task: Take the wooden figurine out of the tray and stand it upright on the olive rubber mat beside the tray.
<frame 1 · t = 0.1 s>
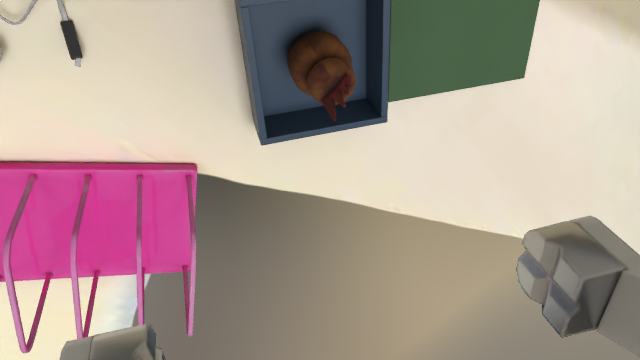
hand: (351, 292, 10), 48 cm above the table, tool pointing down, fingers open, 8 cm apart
wooden figurine: (309, 50, 58), resting on tray
mat: (463, 25, 61), on the table
tray: (309, 49, 58), on the table
file sorter: (94, 217, 63), on the table
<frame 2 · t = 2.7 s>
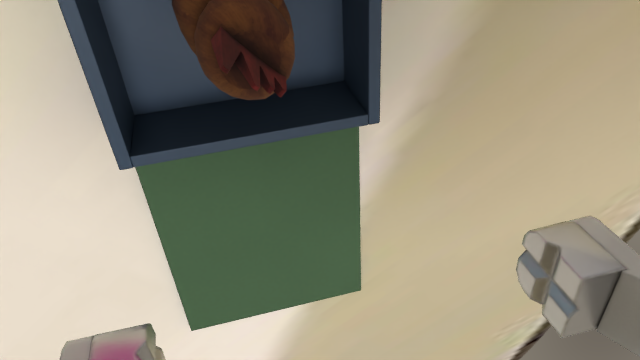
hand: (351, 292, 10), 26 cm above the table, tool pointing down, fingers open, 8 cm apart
mat: (265, 230, 43), on the table
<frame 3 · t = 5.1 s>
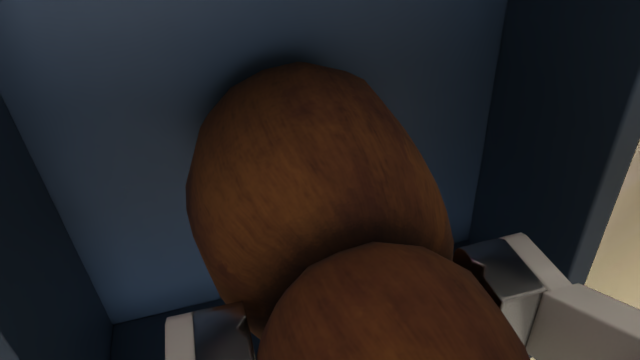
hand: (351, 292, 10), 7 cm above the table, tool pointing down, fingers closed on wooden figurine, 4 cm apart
wooden figurine: (283, 129, 16), resting on tray, touching gripper
tray: (283, 127, 16), on the table
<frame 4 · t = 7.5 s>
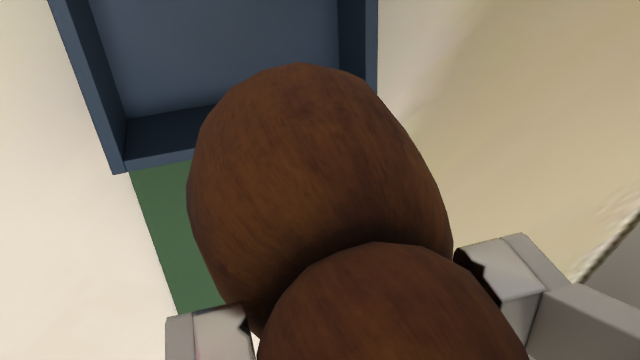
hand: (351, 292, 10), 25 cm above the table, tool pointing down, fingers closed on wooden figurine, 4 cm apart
wooden figurine: (284, 129, 16), point 18 cm above the table, touching gripper
mat: (260, 235, 42), on the table
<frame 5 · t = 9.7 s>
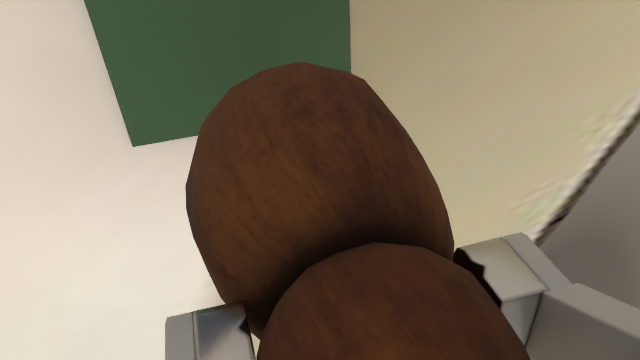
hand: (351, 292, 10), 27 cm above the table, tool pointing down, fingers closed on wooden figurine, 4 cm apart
wooden figurine: (284, 129, 16), point 20 cm above the table, touching gripper
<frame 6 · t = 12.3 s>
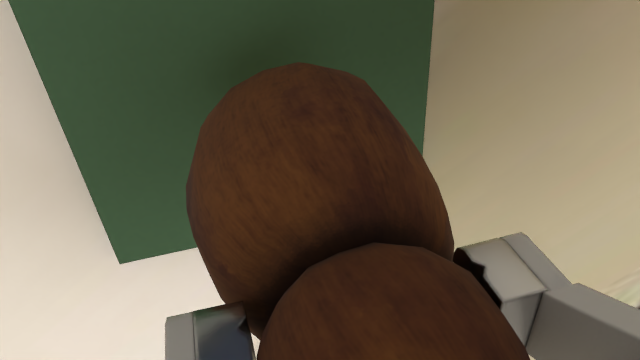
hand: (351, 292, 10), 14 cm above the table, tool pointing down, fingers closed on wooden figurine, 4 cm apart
wooden figurine: (284, 129, 16), point 7 cm above the table, touching gripper
mat: (250, 54, 22), on the table
when the fingers open (8 cm above the table, at t = 14.3 s): wooden figurine stays where it is, resting on mat.
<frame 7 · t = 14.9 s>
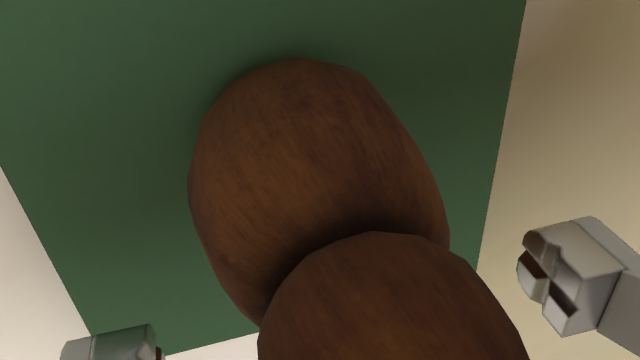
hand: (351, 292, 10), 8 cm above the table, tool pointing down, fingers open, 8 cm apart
wooden figurine: (283, 124, 16), resting on mat
mat: (278, 120, 17), on the table
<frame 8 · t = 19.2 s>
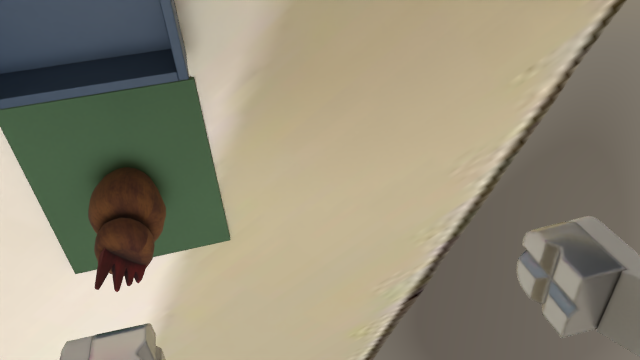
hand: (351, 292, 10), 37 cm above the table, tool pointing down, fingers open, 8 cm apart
wooden figurine: (130, 184, 49), resting on mat
mat: (129, 182, 49), on the table
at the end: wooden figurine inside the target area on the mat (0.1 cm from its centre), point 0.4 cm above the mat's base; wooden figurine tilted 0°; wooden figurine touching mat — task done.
